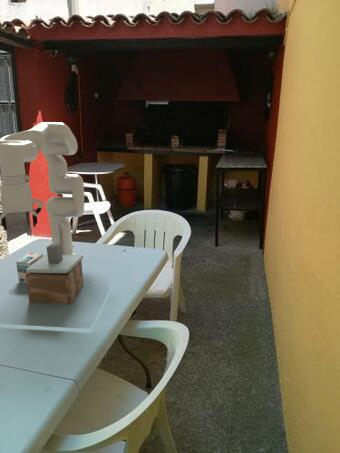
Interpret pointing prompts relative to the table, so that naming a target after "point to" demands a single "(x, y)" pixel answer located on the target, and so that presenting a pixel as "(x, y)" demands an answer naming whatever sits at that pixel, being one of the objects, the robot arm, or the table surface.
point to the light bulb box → (26, 265)
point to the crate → (55, 286)
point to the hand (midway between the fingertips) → (20, 226)
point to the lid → (55, 261)
